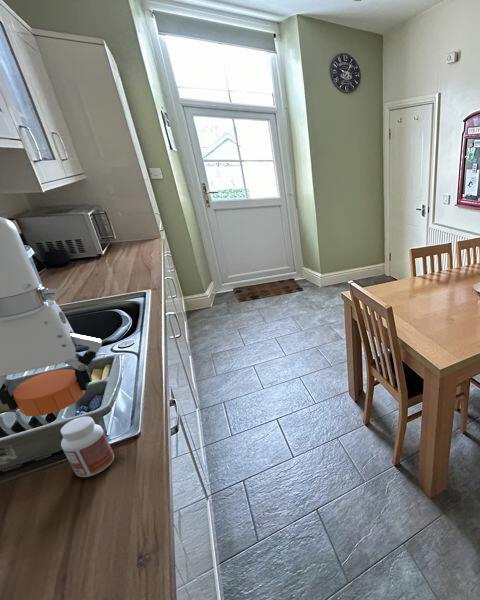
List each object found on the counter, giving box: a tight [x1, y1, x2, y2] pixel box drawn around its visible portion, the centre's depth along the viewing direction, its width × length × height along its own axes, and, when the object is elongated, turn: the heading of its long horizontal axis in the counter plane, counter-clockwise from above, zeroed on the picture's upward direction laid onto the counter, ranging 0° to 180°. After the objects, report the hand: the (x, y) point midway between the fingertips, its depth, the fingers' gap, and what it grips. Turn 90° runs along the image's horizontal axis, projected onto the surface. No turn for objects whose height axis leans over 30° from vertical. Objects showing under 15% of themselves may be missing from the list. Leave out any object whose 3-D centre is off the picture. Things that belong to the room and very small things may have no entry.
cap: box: [13, 368, 86, 417], centre depth 56 cm, size 8×8×4 cm
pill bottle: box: [60, 416, 115, 478], centre depth 66 cm, size 6×6×11 cm
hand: (52, 394), depth 56 cm, fingers closed on cap, 8 cm apart
